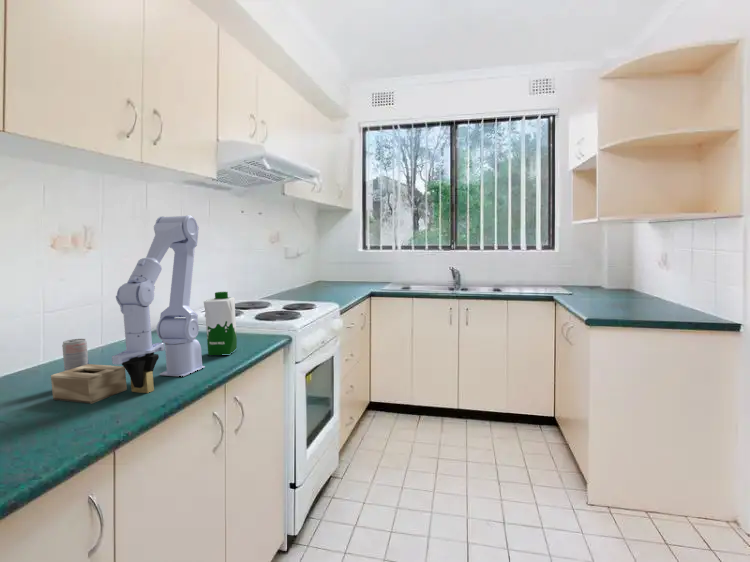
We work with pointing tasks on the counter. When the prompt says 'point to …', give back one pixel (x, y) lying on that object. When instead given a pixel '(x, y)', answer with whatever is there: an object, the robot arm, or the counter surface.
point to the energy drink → (75, 353)
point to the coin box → (88, 383)
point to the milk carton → (220, 324)
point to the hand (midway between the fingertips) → (142, 385)
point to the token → (145, 383)
